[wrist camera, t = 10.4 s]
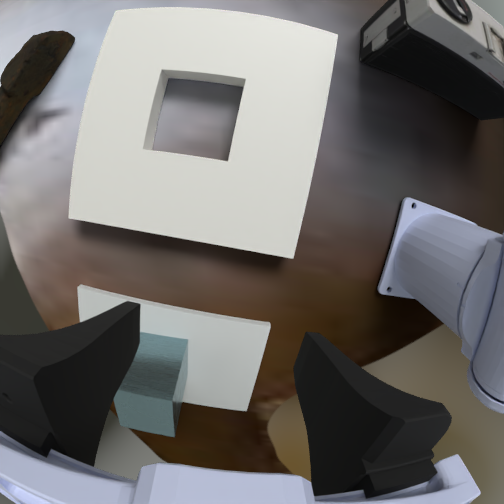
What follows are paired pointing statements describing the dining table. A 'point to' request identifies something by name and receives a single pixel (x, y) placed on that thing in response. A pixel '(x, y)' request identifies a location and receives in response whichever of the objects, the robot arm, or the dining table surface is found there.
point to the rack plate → (199, 168)
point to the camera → (441, 51)
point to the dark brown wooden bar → (30, 74)
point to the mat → (198, 346)
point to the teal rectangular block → (154, 385)
